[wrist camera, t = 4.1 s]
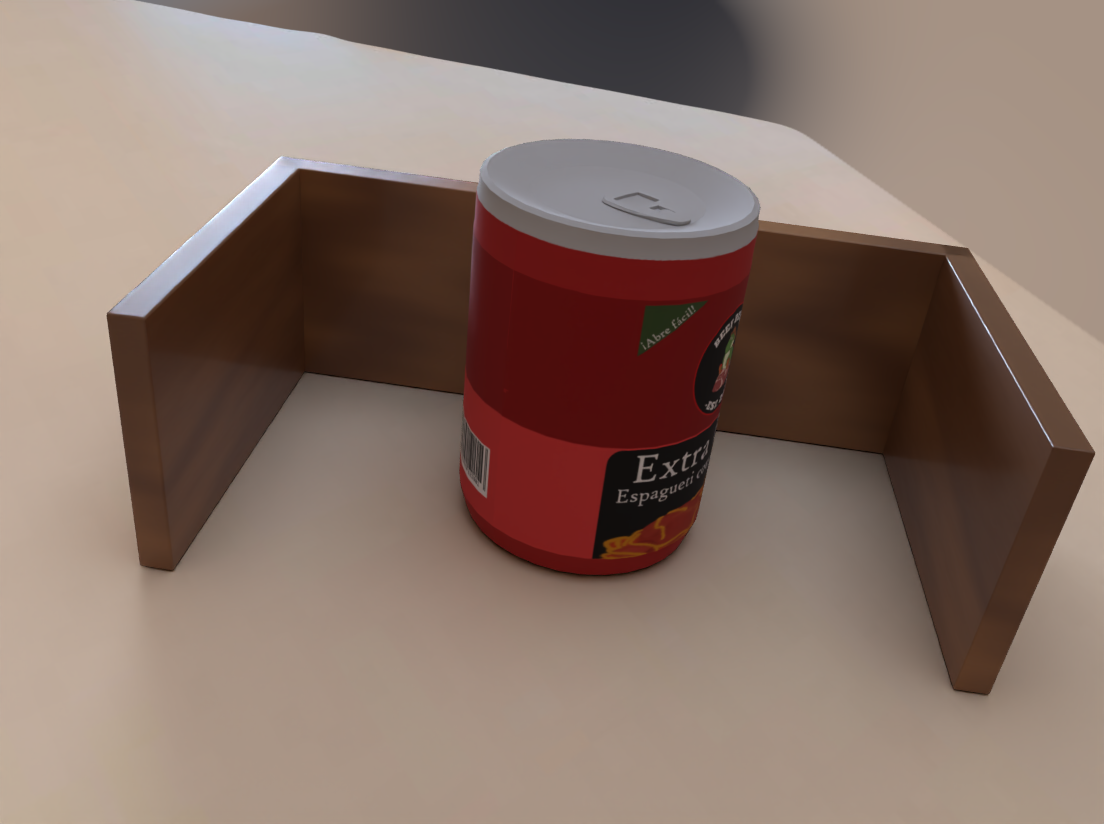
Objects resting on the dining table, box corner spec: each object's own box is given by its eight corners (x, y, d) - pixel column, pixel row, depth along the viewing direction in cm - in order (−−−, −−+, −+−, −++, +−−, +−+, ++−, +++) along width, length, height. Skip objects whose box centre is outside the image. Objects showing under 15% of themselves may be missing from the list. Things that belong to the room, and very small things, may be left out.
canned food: (635, 618, 30) (701, 262, 24) (407, 516, 33) (418, 178, 27) (731, 492, 36) (802, 182, 30) (530, 416, 39) (560, 121, 33)
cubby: (904, 443, 40) (968, 247, 36) (989, 695, 29) (1096, 452, 25) (288, 356, 41) (280, 155, 37) (139, 566, 30) (104, 313, 26)
